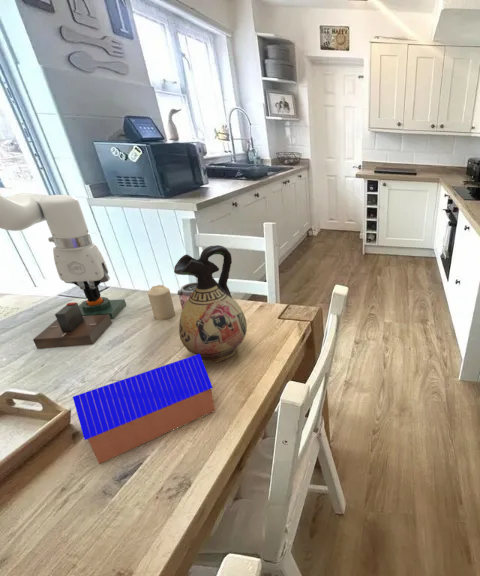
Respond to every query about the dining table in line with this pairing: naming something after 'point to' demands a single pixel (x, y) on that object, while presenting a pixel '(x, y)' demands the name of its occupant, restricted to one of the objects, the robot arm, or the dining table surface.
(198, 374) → the house
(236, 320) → the ceramic jug
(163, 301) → the candle
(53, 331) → the panel
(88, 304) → the button
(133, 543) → the dining table surface
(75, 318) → the dark grey block
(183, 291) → the pink lidded cup
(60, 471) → the dining table surface
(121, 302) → the button box
